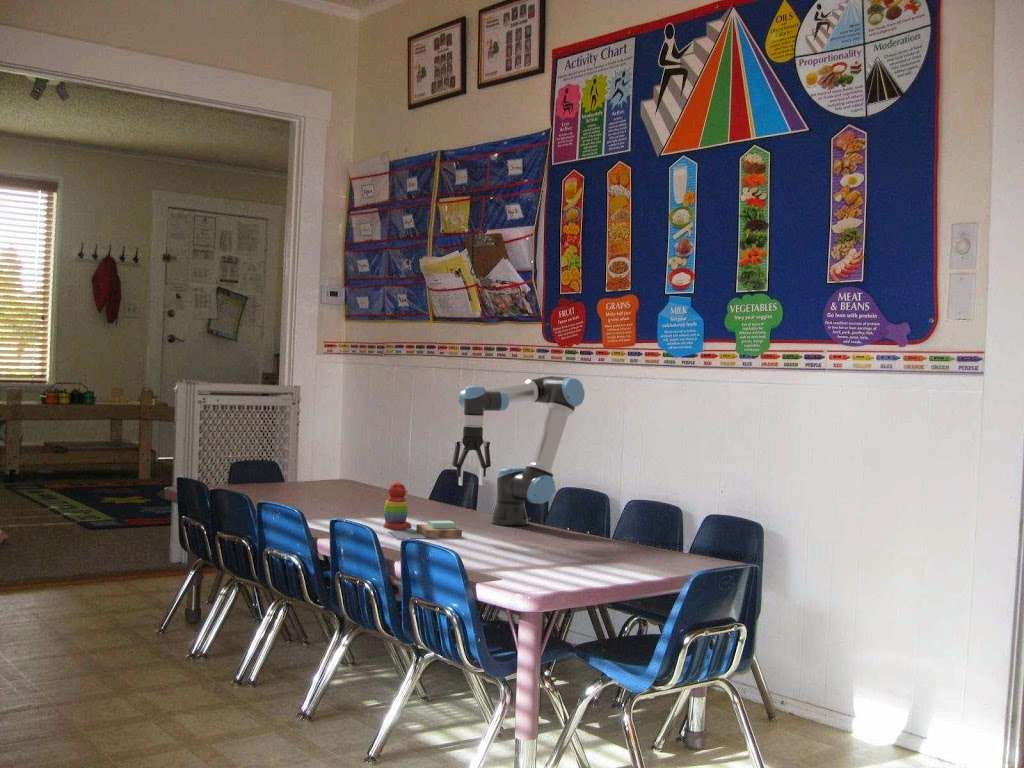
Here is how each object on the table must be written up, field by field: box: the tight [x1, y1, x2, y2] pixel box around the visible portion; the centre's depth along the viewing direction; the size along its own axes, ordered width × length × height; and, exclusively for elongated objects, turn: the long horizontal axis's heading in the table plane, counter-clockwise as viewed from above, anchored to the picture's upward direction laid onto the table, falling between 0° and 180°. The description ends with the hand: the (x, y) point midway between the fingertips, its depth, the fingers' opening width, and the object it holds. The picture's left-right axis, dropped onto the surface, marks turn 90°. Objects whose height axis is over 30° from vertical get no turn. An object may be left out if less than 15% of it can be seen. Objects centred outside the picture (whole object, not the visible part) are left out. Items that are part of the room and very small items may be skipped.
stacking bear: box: [383, 481, 412, 531], centre depth 435 cm, size 11×10×18 cm
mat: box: [387, 530, 428, 540], centre depth 417 cm, size 11×16×1 cm
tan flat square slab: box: [415, 523, 463, 539], centre depth 422 cm, size 14×14×3 cm
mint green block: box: [427, 520, 456, 529], centre depth 422 cm, size 9×6×2 cm, turn 110°
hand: (470, 485), depth 425 cm, fingers open, 8 cm apart
